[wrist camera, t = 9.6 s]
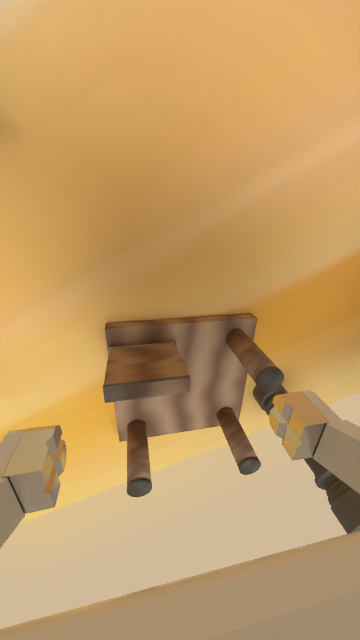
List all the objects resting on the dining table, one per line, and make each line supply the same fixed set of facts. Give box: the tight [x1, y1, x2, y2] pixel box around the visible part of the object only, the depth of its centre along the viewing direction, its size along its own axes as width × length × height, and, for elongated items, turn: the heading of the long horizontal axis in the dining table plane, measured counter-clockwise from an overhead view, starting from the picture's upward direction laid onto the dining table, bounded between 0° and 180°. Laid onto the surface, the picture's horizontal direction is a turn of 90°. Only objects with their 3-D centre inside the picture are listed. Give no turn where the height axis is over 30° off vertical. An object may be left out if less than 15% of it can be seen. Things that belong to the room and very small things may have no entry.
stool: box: [105, 314, 284, 497], centre depth 39 cm, size 25×25×14 cm
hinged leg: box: [103, 342, 191, 403], centre depth 33 cm, size 10×2×11 cm, turn 89°
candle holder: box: [253, 385, 360, 534], centre depth 41 cm, size 6×6×25 cm
